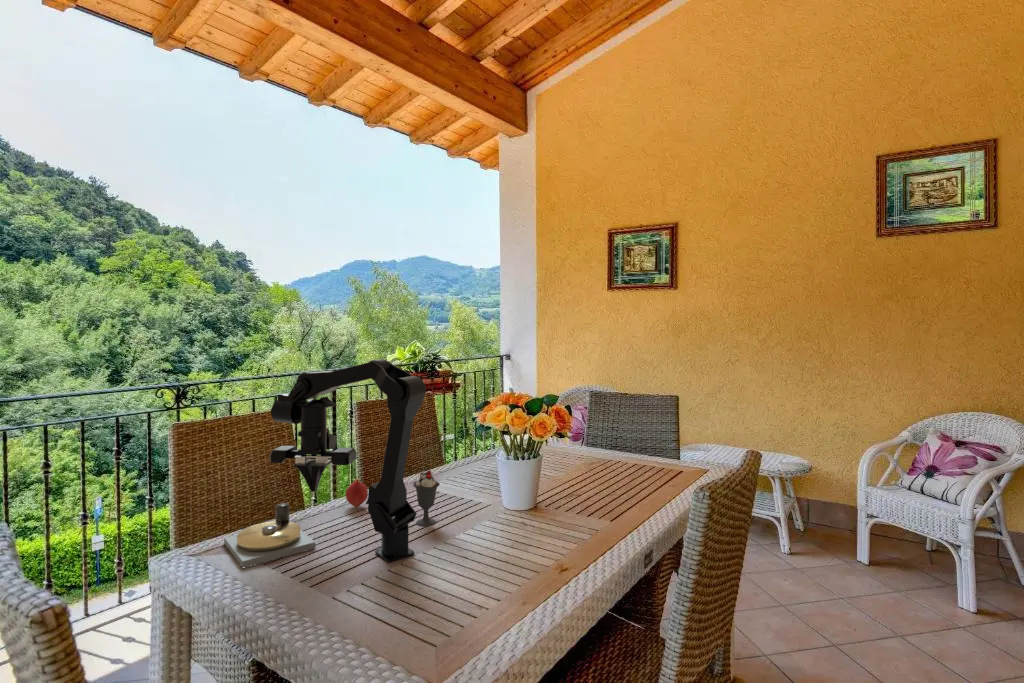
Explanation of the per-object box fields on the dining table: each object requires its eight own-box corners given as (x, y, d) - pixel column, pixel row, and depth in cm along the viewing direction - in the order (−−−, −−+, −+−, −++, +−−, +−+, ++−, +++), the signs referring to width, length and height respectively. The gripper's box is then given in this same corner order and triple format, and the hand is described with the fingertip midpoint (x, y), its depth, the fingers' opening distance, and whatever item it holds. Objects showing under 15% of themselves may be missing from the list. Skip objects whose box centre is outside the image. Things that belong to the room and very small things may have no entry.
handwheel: (309, 540, 119) (309, 516, 119) (246, 556, 111) (246, 530, 111) (289, 522, 129) (289, 500, 129) (230, 536, 121) (230, 512, 120)
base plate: (315, 548, 119) (315, 542, 119) (242, 568, 110) (242, 561, 109) (291, 527, 131) (291, 521, 131) (224, 544, 121) (224, 537, 121)
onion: (340, 508, 144) (341, 479, 144) (356, 502, 149) (356, 474, 149) (356, 512, 142) (357, 483, 141) (372, 506, 147) (372, 477, 146)
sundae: (434, 528, 132) (434, 469, 131) (408, 526, 133) (409, 467, 132) (442, 519, 138) (443, 462, 138) (418, 516, 140) (419, 460, 139)
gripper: (364, 420, 132) (364, 482, 133) (291, 418, 133) (291, 479, 134) (347, 429, 121) (347, 497, 121) (268, 427, 122) (268, 494, 123)
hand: (313, 491), depth 125 cm, fingers closed
